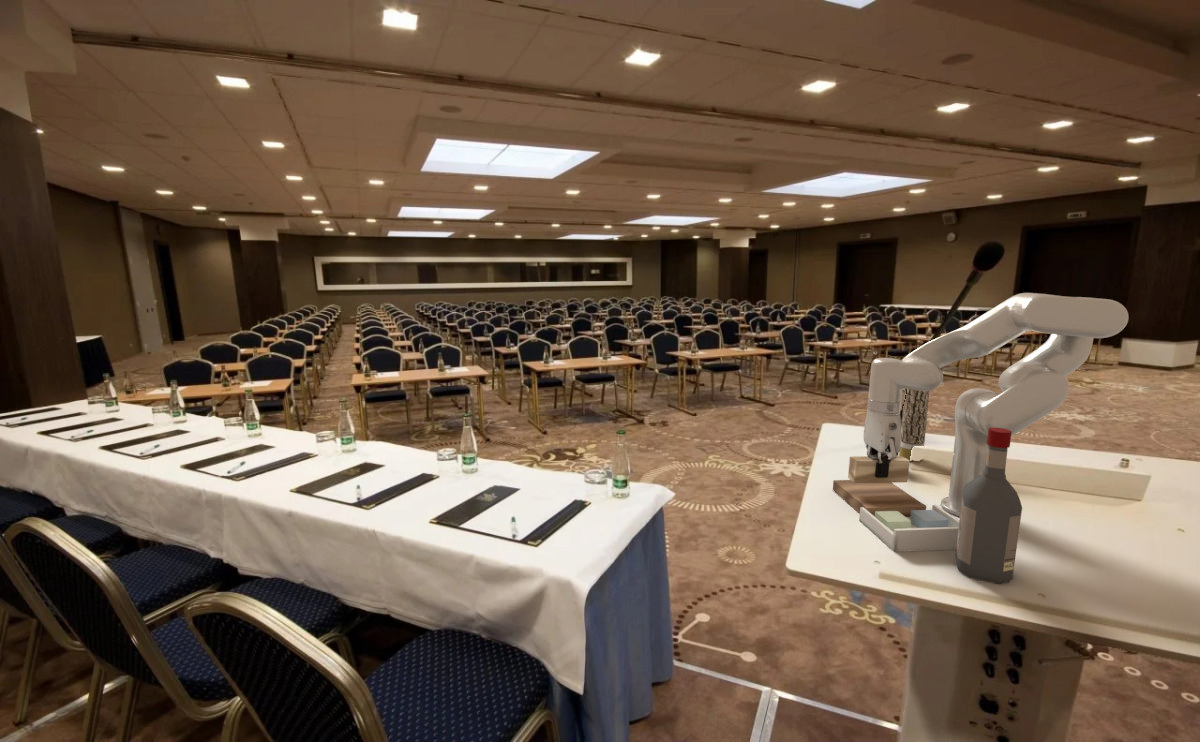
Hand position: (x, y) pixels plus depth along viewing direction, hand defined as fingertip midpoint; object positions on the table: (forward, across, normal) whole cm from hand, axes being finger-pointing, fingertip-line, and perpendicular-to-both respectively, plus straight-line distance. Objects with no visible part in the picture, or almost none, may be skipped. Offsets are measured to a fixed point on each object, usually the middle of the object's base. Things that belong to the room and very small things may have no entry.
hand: (876, 473), depth 141 cm
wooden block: (+2, 0, 0) cm, 2 cm away
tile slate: (+8, -15, -5) cm, 18 cm away
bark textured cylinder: (+8, +32, -30) cm, 44 cm away
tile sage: (+8, -15, +4) cm, 17 cm away
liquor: (+8, -33, -4) cm, 35 cm away
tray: (+8, -17, 0) cm, 19 cm away
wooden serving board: (+8, 0, 0) cm, 8 cm away
